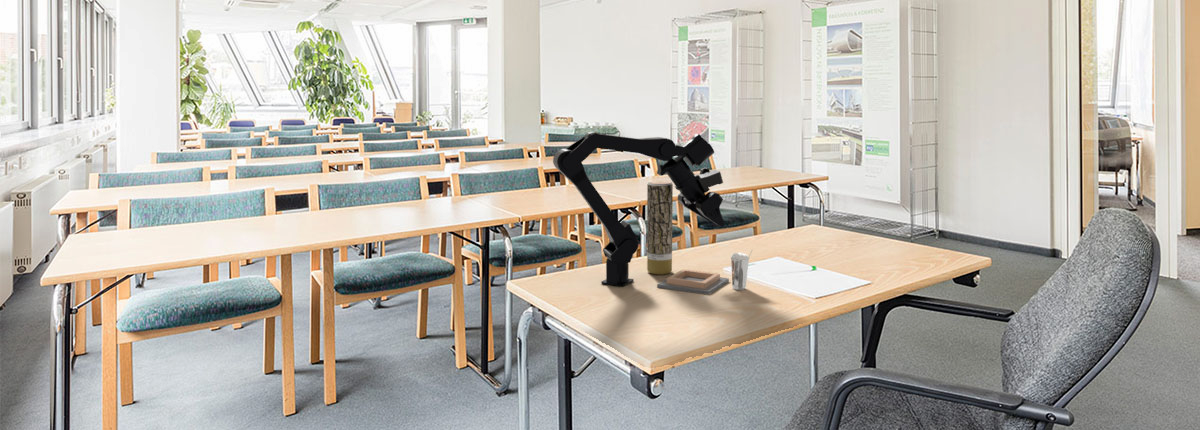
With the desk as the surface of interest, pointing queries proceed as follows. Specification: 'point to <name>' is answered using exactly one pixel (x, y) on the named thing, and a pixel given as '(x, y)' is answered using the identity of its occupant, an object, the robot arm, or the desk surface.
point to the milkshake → (739, 270)
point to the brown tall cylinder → (659, 227)
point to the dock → (694, 281)
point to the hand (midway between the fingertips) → (716, 223)
